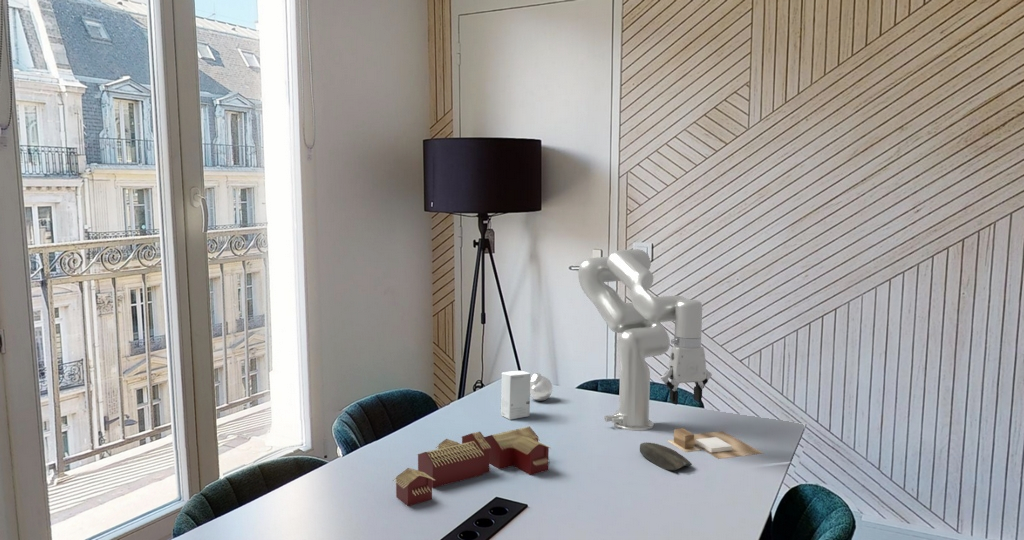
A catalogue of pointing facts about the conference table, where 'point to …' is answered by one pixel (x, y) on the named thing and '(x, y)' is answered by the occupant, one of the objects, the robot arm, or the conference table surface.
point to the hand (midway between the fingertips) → (685, 401)
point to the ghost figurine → (540, 387)
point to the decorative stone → (663, 456)
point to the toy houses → (471, 461)
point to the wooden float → (684, 440)
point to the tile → (714, 444)
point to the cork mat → (737, 445)
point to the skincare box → (515, 394)
